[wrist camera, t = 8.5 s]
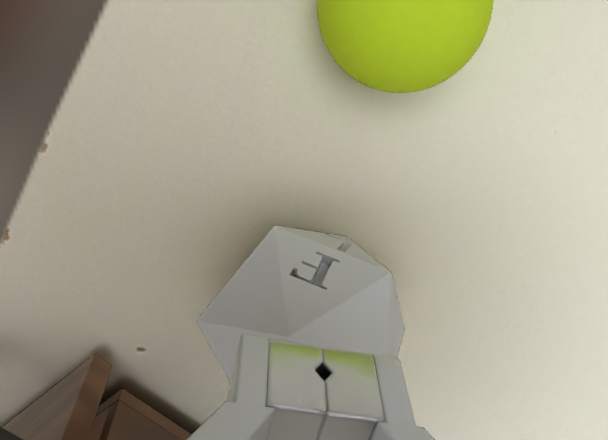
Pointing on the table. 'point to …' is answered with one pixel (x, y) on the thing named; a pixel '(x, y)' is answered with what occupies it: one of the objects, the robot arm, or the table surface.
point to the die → (306, 297)
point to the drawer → (90, 412)
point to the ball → (403, 39)
